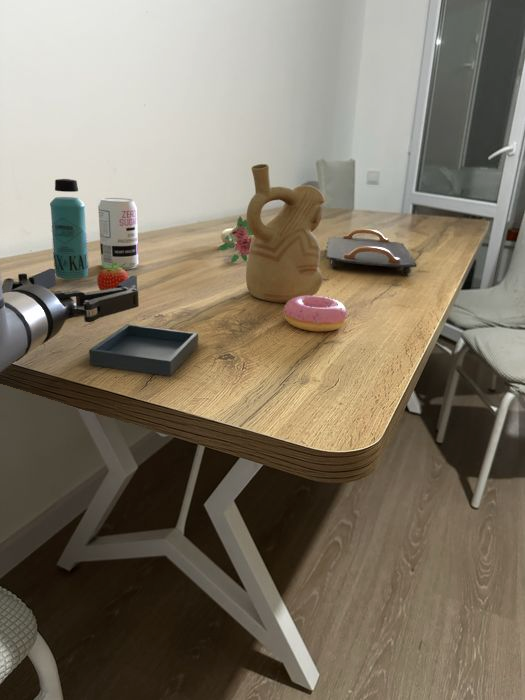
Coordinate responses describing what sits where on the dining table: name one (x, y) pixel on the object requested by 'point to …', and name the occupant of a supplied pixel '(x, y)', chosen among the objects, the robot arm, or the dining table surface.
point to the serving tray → (368, 251)
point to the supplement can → (118, 232)
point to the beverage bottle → (69, 233)
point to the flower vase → (237, 239)
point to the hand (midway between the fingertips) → (93, 280)
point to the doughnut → (315, 313)
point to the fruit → (111, 276)
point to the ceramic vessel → (283, 241)
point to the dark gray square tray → (144, 349)
